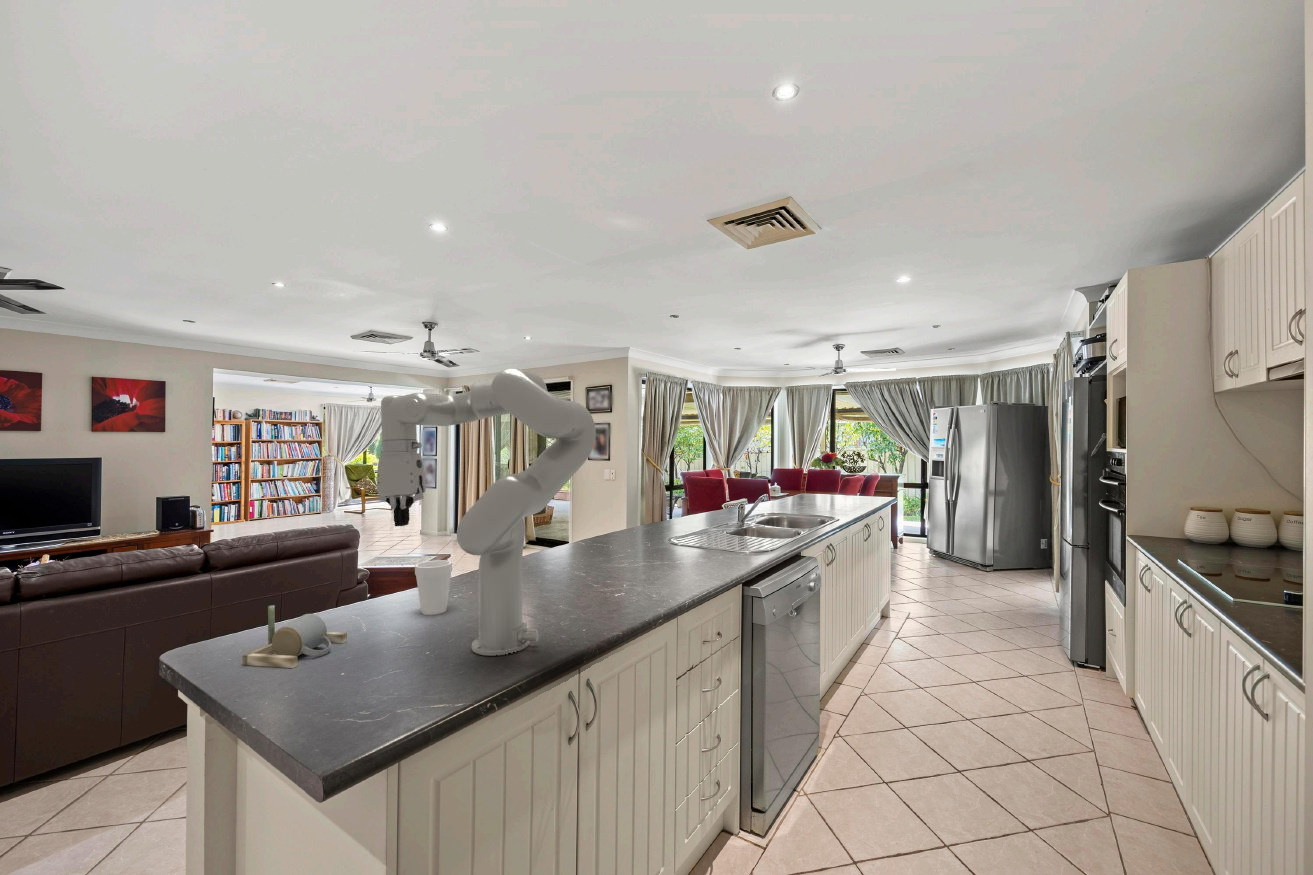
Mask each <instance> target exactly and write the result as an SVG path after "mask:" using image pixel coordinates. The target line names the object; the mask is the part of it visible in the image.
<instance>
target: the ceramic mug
mask: <svg viewBox="0 0 1313 875" xmlns="http://www.w3.org/2000/svg"><path fill="white" fill-rule="evenodd" d="M327 632H328V628H327V625H326V623H325V621H324V620H323V618H321V617H320V616H318V615H317V614H314V613H305V614H303V615H301V616H300V617H297V618H295V619H293V620H292V621H290V622H288V623H286V624H284V625H282V626H281V627H279V628H278V629H277V630H275V634H274V635H273V638H272V647H273V650H274V652H275V653H274V654H275V655H287V656H297V657H299V656H301V655H303V654H304V655H306V656H309V657H314V658H316V657H322V656H326V655H327V654H328V653H329V651H330V650H331V647H332V643H331V642H330V640H329V639H328V638H327V637H326V635H327ZM322 644H323V645H325V646H326V648H324V649H315V648H318V647H319V646H321V645H322Z"/></svg>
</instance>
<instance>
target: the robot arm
mask: <svg viewBox="0 0 1313 875" xmlns="http://www.w3.org/2000/svg"><path fill="white" fill-rule="evenodd" d="M380 412H381V414H380V415H381V417H380V419H381V420H380V422H381V454H379V458H378V464H377V471H376V472H377V474H376V491H377V494H378V501H379V502H384V503H387V504H388V505H389V507H390V508H391V510H393V523H394V526H395V527H404V526H407V525H409V524H410V523H409V522H410V508H412V506H413V504H414V503H415V502H417V501H420V500H423V499H424V493H426V489H427V485H426V484H427V483H426V475H425V474H426V473H425V466H424V461H423V457H422V454H421V452H420V453H418V450H419V449H422V446H423V445H422V442H418V439H417V438H418V436H417V426H426V427H427V426H435V427H449V426H457V425H460V424H467V423H472V422H476V421H479V420H480V421H481V420H484V419H487V418H491V417H497V416H503V415H508V414H509V415H511V416H513V417H514V418H515V419H517V420H518V421H519V422H521V423H522V424H524V425H525V426H526V427H528V428H529V429H531V431H534V432H535V433H537V434H538V435H540V436H542V438H543V437H544V438H546V439H550V440H551V439H552V440H554V442H553V443H552V444H550V445H548V446H547V448H546V449H544V450H543V451H542V452H541V453H540V454H539V456H538V457H537V458H536V459H535V460H534V461H533V462H532V463H531V464H530V465H529V466H528V467H527V468H526V469H524V470H523V471H520V472H519V473H517V472H516V473H510V474H506V475H504V476H501V477H500V478H499V479H497V480H496V481H494V482H493V483H492V484H491V485H490V486H489V487H488V489H486V491H485V492H483V494H482V495H480V497H479V499H478V500H477V501H476V502H475V503H474V504H473V505H472V506H471V507H470V508H469V509H468V510H467V512H465V514H464V516H462V518H461V519H460V521H459V523H458V526H457V530H456V540H457V543H458V545H459V547H460V549H461V550H462V551H463V552H464V553H467V554H469V555H472V556H479V562H478V580H477V581H478V582H477V583H478V585H477V586H478V588H477V589H478V591H477V592H478V637H477V638H475V639H474V640H473V641H472V642H471V651H472V652H473V653H475V654H477V655H481V656H487V657H488V656H489V657H490V656H491V657H492V656H495V657H496V655H497V656H505V654H506V655H509V654H508V653H511V654H514V653H513V652H515V653H518V652H520V651H522V650H525V649H526V648H527V647H528V646H529V645H530V642H538V641H539V639H540V633H539V631H538V630H539V629H529V628H528V627H527V622H523V552H524V545H525V538H526V537H525V536H526V523H525V518H526V517H530V516H533V515H535V514H538V513H540V512H542V511H543V510H544V509H545V508H546V507H547V505H548V504H549V503H550V502H551V501H552V500H553V499H554V498H555V496H556V495H557V494H558V493H559V492H560V491H561V490H562V489H563V488H564V487H565V486H566V484H567V483H568V482H569V481H570V480H571V478H572V477H573V476H574V475H575V474H576V473H577V472H578V471H579V470H580V469H581V467H582V466H583V465H584V464H585V463H586V462H587V460H588V459H589V457H590V455H591V453H592V452H593V450H594V446H595V443H596V436H597V434H596V433H597V429H596V424H595V420H594V418H593V416H592V414H591V412H590V411H589V410H588V408H587V407H585V406H584V405H583V404H581V403H578V402H576V401H572V400H568V399H561V398H558V397H557V396H555V395H554V394H552V393H551V392H549V391H548V388H547V384H546V382H545V381H544V379H543V378H542V377H540V376H539V375H538V374H537V373H533V372H530V371H527V370H524V369H520V368H515V367H514V368H506V369H503V370H501V371H500V372H498V373H497V374H496V375H495V376H494V378H489V379H484V380H477V381H475V382H473V384H471V386H470V388H469V391H465V392H461V393H456V394H455V393H454V394H449V395H447V394H446V395H443V394H442V395H441V394H436V393H427V392H413V393H410V394H405V395H388V396H384V397H383V398H381V402H380ZM517 651H518V652H517Z"/></svg>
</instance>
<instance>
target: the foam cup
mask: <svg viewBox="0 0 1313 875" xmlns="http://www.w3.org/2000/svg"><path fill="white" fill-rule="evenodd" d="M452 572H453V562H452V561H450V560H442V559H440V560H437V559H436V560H428V561H423V562H418V563H416V564H414V575H415V576H416V584H417V591H418V598H419V599H418V600H419V604H420V611H421V615H425V616H432V615H433V616H434V615H441V614H443V613H445V612H446V611H447V608H448V600H449V593H450V584H451V578H452Z"/></svg>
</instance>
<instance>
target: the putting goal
mask: <svg viewBox="0 0 1313 875" xmlns="http://www.w3.org/2000/svg"><path fill="white" fill-rule="evenodd" d="M275 607H276V605H274V604H273V605H267V618H268V619H267V639H268V640H267V644H266V645H264V646H261V647H259V648H257V649H254V650H252V651H249V652H247V653H245V654H242V655H241V656H242V666H255V667H267V668H268V667H271V668H286V669H294V668H296V667H297V666H298V656H287V655H277V654H276V653H275V652H274V650H273V647H272V638H273V635H274V634H275V632H276V630H275V628H276V619H275V618H276V617H275V616H276V614H275V612H276V611H275V610H276V609H275ZM347 636H348V634H347V632H339V631H338V632H336V631H335V632H334V631H333V632H332V631H327V635H326V637H327V638H328V639H329V640H330V642H331V644H344V643H347V642H348V640H347V638H348V637H347ZM273 653H274V654H273ZM271 654H272V655H271Z"/></svg>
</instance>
